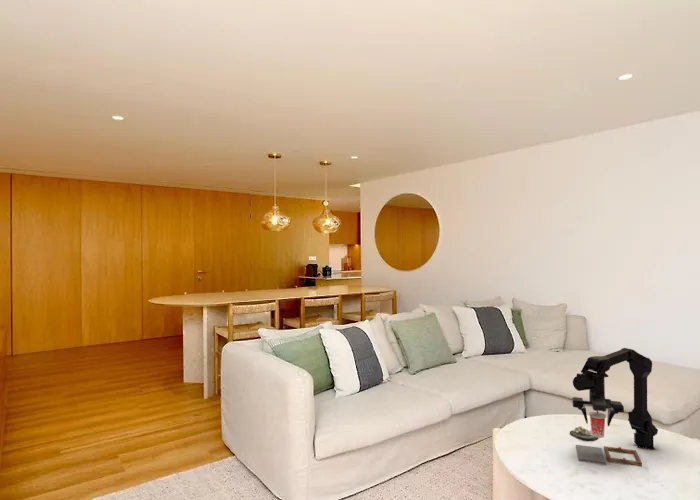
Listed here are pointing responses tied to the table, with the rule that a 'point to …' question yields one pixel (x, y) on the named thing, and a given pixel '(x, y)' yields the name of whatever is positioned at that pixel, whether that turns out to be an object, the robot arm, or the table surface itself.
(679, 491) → the table surface
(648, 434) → the robot arm
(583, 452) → the rubber mat
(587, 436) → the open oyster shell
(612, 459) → the socket collar
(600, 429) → the beverage cup
